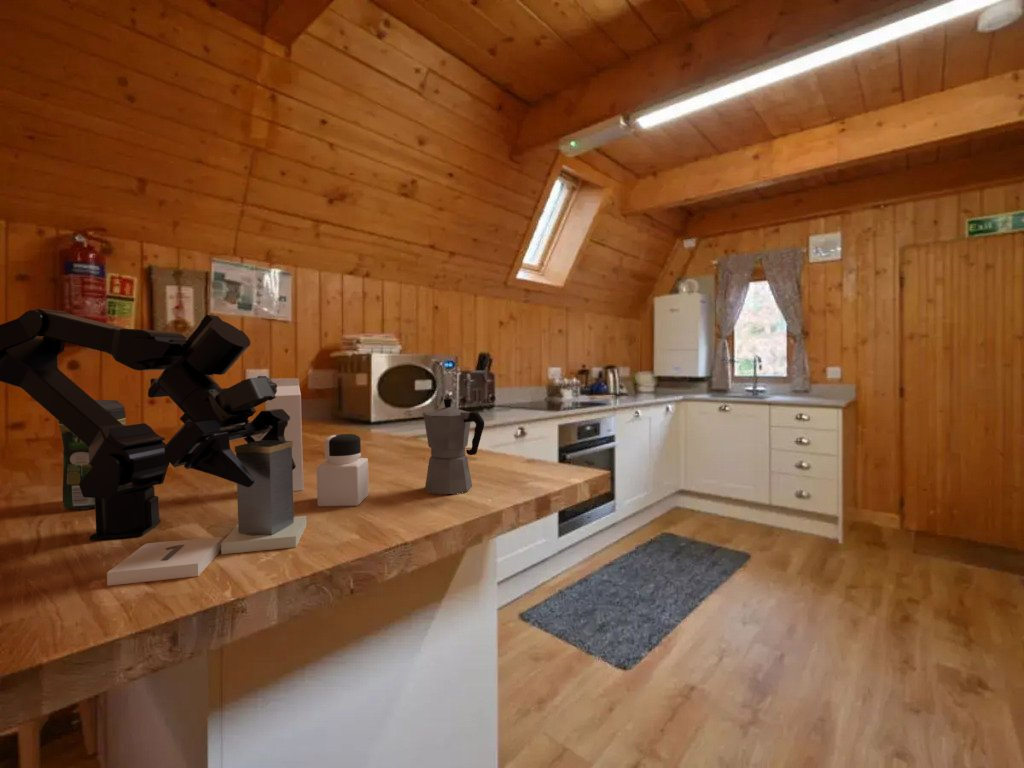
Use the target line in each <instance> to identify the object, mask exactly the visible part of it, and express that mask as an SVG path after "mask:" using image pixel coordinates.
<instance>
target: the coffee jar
mask: <svg viewBox="0 0 1024 768" xmlns="http://www.w3.org/2000/svg"><path fill="white" fill-rule="evenodd" d="M94 400H95V401H96V402H97V403H98V404H99V405H100V406H102V407H103V408H104V409H105V410H106V411H107V412H109V413H110V414H111V415H112V416H113V417H114V418H116V419H117V420H118V421H119V422H120V423H121V424H123V425H125V426H126V425H127V423H126V422H127V416H126V415H127V414H126V409H125V406H124V405H123V403H121V402H120V401H119V400H116V399H115V400H112V399H111V400H109V399H94ZM57 421H58V420H57ZM57 425H58V429H59V431H60V435H61V438H62V439H61V440H62V451H63V452H62V456H63V457H62V459H63V460H62V461H63V462H62V464H63V465H62V468H63V469H62V473H63V474H62V505H63V507H64V508H66V509H72V510H78V511H79V509H81V510H89V509H91V508H95V498H87V497H83V495H82V492H81V489H80V486H79V483H80V481H81V480H82V479H83V478H84V477H85V476H86V475H87V473H88V472H89V471H90V470H91V469H92V468H93V467H92V466H91V465H90V464H89V448H88V446H87V445H86V444H85V443H84V442H82V441H81V440H80V439H79V438H78V437H77V436H76V435H74V434H73V433H72V432H71V431H70V430H69V429H68V428H66V427H65V426H64V425H63V424H62V423H61V422H60V421H58V424H57Z"/></svg>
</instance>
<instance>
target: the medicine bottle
mask: <svg viewBox="0 0 1024 768" xmlns="http://www.w3.org/2000/svg"><path fill="white" fill-rule="evenodd" d="M361 447H362V445H361V437H360V436H359V435H356V434H354V433H342V434H341V433H340V434H339V433H338V434H332V435H329V436H328V437H326V438H325V440H324V453H325V455H324V456H325V457H324V458H325V460H326V461H325V462H323V463H320V464H319V465H317V466H316V491H317V492H316V496H317V501H316V502H317V507H322V508H323V507H359V505H360V504H361V503H362V502H363V501H364V500H365V499H366V498H367V497H368V496H369V494H370V490H369V487H370V486H369V459H368V458H367V457H362V453H361V451H362V450H361V449H362V448H361Z"/></svg>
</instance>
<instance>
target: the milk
mask: <svg viewBox="0 0 1024 768" xmlns="http://www.w3.org/2000/svg"><path fill="white" fill-rule="evenodd" d="M271 380H272V382H273V383H276V384H277V388H276V389H277V392H276V394H275V396H276V398H274V399H273V400H268V401H266V402H265V410H271V409H283V410H284V411H285V412H286V413H287V414H288V415H289V416H290V420H289V421H288V425H287V427H286V428H285V431H284V437H285V441H293V446H292V458H293V461H294V463H295V465H296V467H295V468H294V470H293V471H292V473H293V492H297V491H298V492H299V491H304V467H303V465H304V464H303V463H304V462H303V427H302V425H303V423H302V393H301V389H300V379H299V378H297V377H292V378H291V377H287V378H285V377H283V378H271Z"/></svg>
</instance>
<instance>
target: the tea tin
mask: <svg viewBox="0 0 1024 768" xmlns="http://www.w3.org/2000/svg"><path fill="white" fill-rule="evenodd" d="M292 446H293V441H269V440H259V441H255V442H251V443H247V442H246V443H244V444H243V443H242V444H239V445H235V446H234V453H235V455H236V456H237V458H238V459H239V460H240V462H241V463H242V464H243V465H244V467H245V468H246V469H247V470H248V472H249V473H250V475H251V476H252V478H253V479H254V483H253V485H252V486H251V487H245V486H243V485H240V484H237V483H236V490H237V491H236V495H237V498H236V499H237V521H238V524H237V525H238V530H239V533H248V534H269V535H272V534H274V533H276V532H278V531H279V530H281V529H283V528H285V527H287V526H288V525H290V524H292V523H294V517H295V516H294V491H293V473H292Z"/></svg>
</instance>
